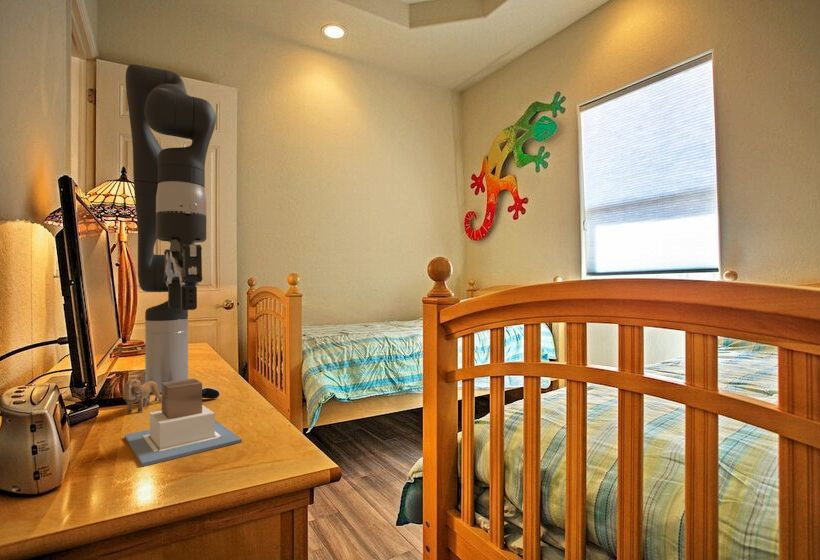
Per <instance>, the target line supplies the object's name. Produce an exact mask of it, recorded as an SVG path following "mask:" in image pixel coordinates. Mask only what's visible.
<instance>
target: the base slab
mask: <svg viewBox="0 0 820 560" xmlns="http://www.w3.org/2000/svg"><path fill="white" fill-rule="evenodd" d="M215 415H216V413H215V412H214V411H212V410H211V409H210V408H208V407H207V406H205V405H204V404H202V413H200V414H194V415H189V416H184V417H178V418H173V419H168V418H167V417H166V416H165V415H164V414H163V413H162V409H161V410H155V411H150V412H149V430H150V437H151V439H152V440H153V441H154V442H155V444H156V445H157V446H158V448H159V449H160V450H161V449H166V448H170V447H174V446H179V445H183V444H187V443H192V442H196V441H200V440H205V439H209V438H214V437H215V420H216V419H215V418H216V416H215Z"/></svg>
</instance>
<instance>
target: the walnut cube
mask: <svg viewBox="0 0 820 560" xmlns="http://www.w3.org/2000/svg"><path fill="white" fill-rule="evenodd" d="M202 387H203V383H202V382H201V381H199V380H198V379H196V378H188V379H186V380H178V381H171V382H164V383H162V393H161V397H162V403H161V410H162V413H163V414H164V415H165V416H166V417H167V418H168V419H173V418H178V417H184V416H189V415H194V414H200V413H202V405H203V398H202Z"/></svg>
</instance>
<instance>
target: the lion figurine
mask: <svg viewBox="0 0 820 560" xmlns="http://www.w3.org/2000/svg"><path fill="white" fill-rule="evenodd" d="M141 383H142V381H141V380H139V379H136V378H133V379H130V380H128V381H126V382H125V383H124V385H123V387H122V399H123V400H124V401H125V402H126V406H127V411H126V412H125V414H126V415H129V414H132V413H133V406H132V405H133V404H136V403H137V413H138V414H142V413H144V407H146V405H148V402H149V400H150V399H149V396H150V394H153V396H155V398H154V401H155V402H156V404H162V394H161V393H159V390H158V385H157V383H156V382H154V381H148V382H144V383H143V384H141ZM150 392H152V393H150Z"/></svg>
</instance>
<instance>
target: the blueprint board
mask: <svg viewBox="0 0 820 560" xmlns="http://www.w3.org/2000/svg"><path fill="white" fill-rule="evenodd" d="M124 439H125V440H126V442H127V443H128V446H129V447H130V449H131V451H132V452H133V454H134V455H135V457H136V458H137V460H138V462H139V463H140V465H141V467H146V466H150V465H154V464H158V463H162V462H166V461H172V460H175V459H179V458H184V457H188V456H191V455H196V454H200V453H202V452H208V451H211V450H215V449H218V448H219V449H220V448H224V447H228V446H232V445H236V444H241V443H242V442H243V439H242V438H241V437H240V436H238V435H237V434H236V433H234V432H232V430H230V429H229V428H227V427H226V426H225V425H223V424H222V423H220V422H218V421H217V420H216V419H215V437H214V438H209V439H205V440H200V441H196V442H192V443H187V444H183V445H179V446H174V447H170V448H166V449H161V450H160V449H159V448H158V446H157V445H156V444H155V442H154V441H153V440H152V439H151V437H150V429H146V430H145V429H144V430H140V431H136V432H130V433H126V434H124Z"/></svg>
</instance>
